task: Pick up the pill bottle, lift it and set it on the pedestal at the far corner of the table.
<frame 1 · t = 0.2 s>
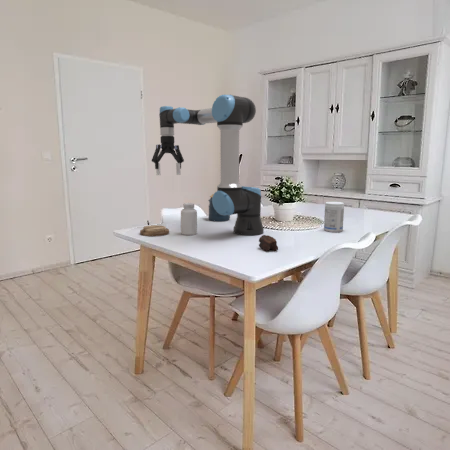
hand: (168, 175, 207), 27 cm above the table, tool pointing down, fingers open, 13 cm apart
supplement tub: (333, 231, 194), on the table
canister: (219, 220, 223), on the table
pill bottle: (189, 234, 184), on the table
pedestal: (154, 233, 184), on the table
brown notched block: (268, 249, 155), on the table
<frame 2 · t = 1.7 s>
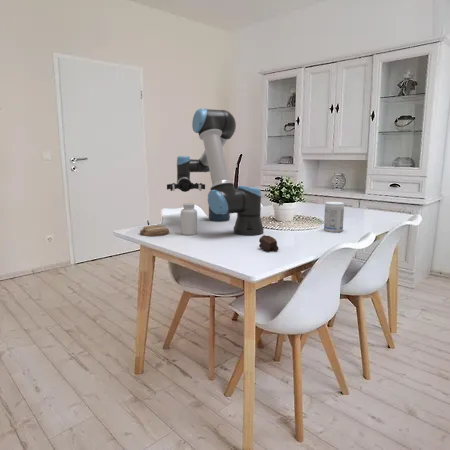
hand: (187, 188, 189), 22 cm above the table, tool horizontal, fingers open, 13 cm apart
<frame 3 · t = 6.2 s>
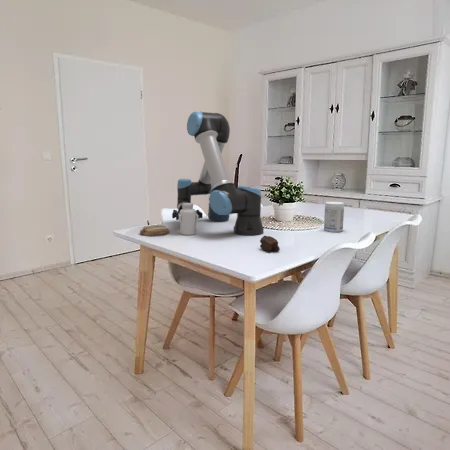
hand: (188, 218, 178), 8 cm above the table, tool horizontal, fingers closed on pill bottle, 8 cm apart
canister: (218, 218, 221), point 1 cm above the table, touching arm
pill bottle: (188, 234, 183), on the table, touching gripper
brown notched block: (269, 250, 154), on the table
everything else where it was.
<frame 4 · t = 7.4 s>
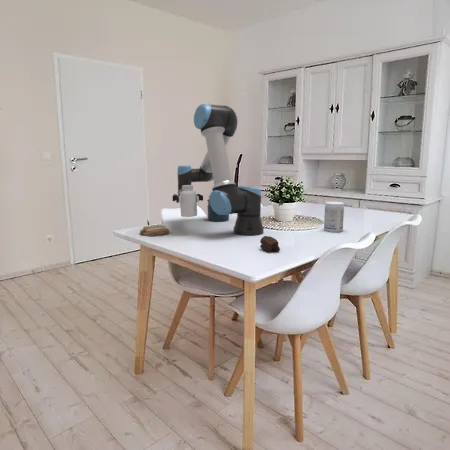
hand: (189, 199, 176), 17 cm above the table, tool horizontal, fingers closed on pill bottle, 8 cm apart
canister: (218, 220, 222), on the table
pill bottle: (189, 216, 181), point 9 cm above the table, touching gripper
everything else where it was.
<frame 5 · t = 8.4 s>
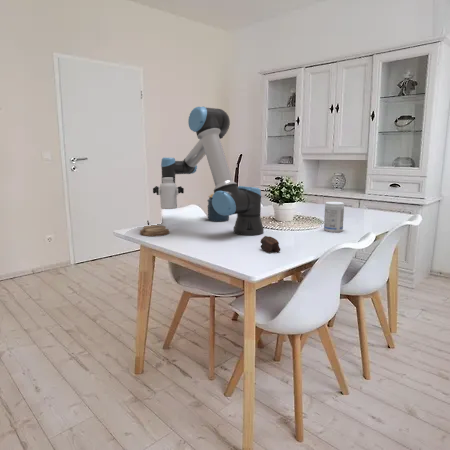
hand: (168, 192, 177), 21 cm above the table, tool horizontal, fingers closed on pill bottle, 8 cm apart
pill bottle: (169, 208, 182), point 12 cm above the table, touching gripper
everything else where it was.
when the fingers open (12 cm above the table, at t = 10.7 s): pill bottle drops 1 cm, resting on pedestal.
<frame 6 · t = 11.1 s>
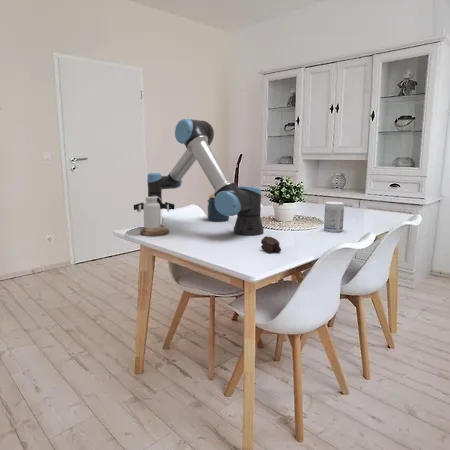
hand: (153, 209, 178), 12 cm above the table, tool horizontal, fingers open, 13 cm apart
pill bottle: (152, 228, 182), point 3 cm above the table, touching pedestal
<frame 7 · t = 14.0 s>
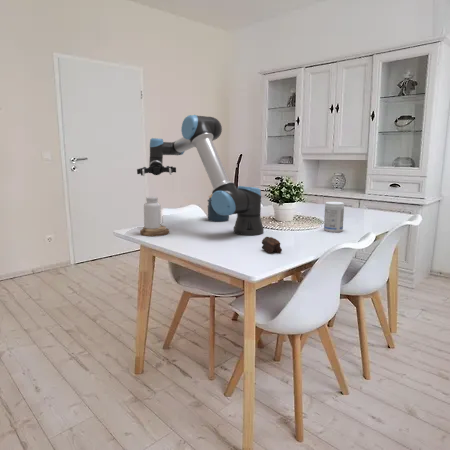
hand: (157, 172, 188), 29 cm above the table, tool horizontal, fingers open, 13 cm apart
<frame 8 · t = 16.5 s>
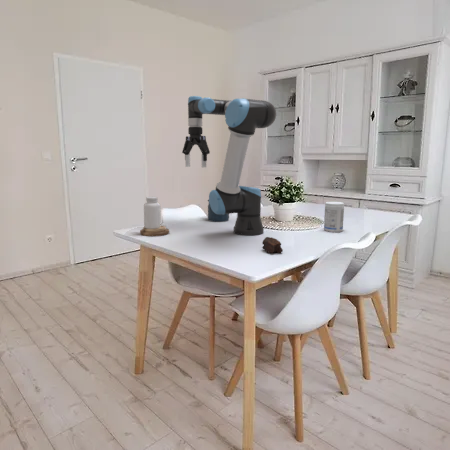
hand: (195, 167, 203), 32 cm above the table, tool pointing down, fingers open, 13 cm apart
at the end: pill bottle 1.2 cm off-centre on the pedestal, point 2.8 cm above the pedestal's base; pill bottle tilted 0°; the gripper is holding nothing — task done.
